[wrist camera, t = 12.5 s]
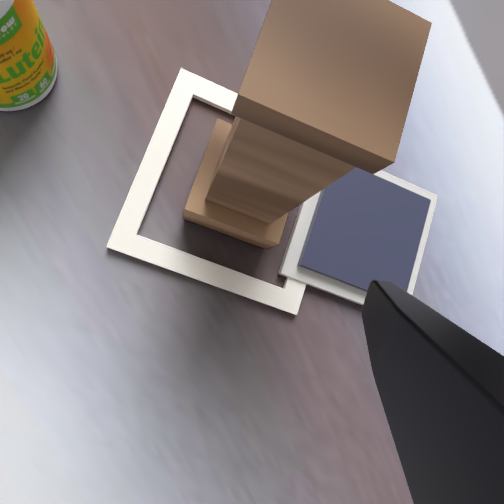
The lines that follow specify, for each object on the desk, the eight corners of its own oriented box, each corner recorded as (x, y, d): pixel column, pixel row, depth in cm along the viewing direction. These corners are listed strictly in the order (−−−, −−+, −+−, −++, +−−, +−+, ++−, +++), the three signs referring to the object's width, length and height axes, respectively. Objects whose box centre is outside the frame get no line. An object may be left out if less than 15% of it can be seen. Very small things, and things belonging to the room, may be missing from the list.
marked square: (294, 314, 23) (296, 315, 23) (107, 247, 21) (106, 246, 21) (347, 147, 25) (349, 144, 25) (180, 71, 23) (181, 68, 23)
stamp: (264, 250, 23) (406, 187, 10) (181, 220, 22) (211, 104, 9) (289, 172, 24) (451, 15, 11) (210, 140, 23) (277, -77, 10)
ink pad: (399, 319, 25) (411, 320, 24) (277, 273, 23) (283, 272, 22) (431, 197, 26) (444, 193, 25) (319, 147, 25) (326, 140, 24)
